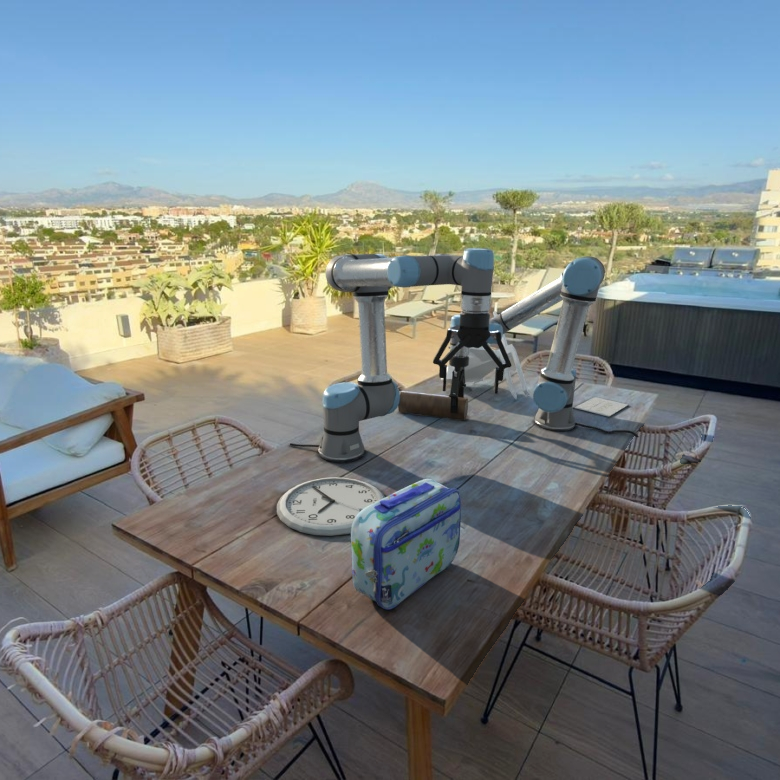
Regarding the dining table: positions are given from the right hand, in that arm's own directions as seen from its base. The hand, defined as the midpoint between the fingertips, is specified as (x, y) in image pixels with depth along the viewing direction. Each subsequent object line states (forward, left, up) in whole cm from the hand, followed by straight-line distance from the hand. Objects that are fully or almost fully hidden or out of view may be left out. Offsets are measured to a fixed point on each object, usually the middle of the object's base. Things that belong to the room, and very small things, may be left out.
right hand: (457, 407), depth 208 cm
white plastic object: (-11, -37, -5) cm, 39 cm away
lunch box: (+11, +103, -5) cm, 104 cm away
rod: (+10, -2, -5) cm, 11 cm away
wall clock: (+34, +74, -5) cm, 81 cm away
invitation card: (-62, -25, -5) cm, 67 cm away
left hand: (-2, +64, +27) cm, 69 cm away
